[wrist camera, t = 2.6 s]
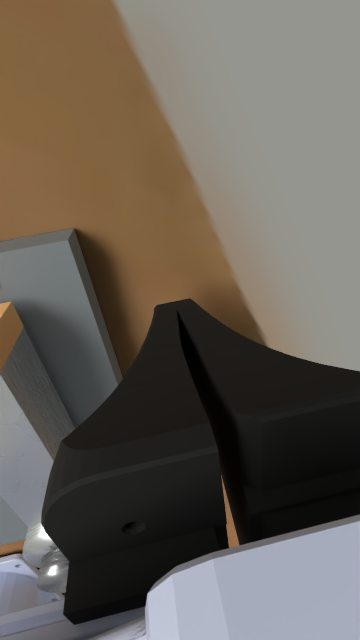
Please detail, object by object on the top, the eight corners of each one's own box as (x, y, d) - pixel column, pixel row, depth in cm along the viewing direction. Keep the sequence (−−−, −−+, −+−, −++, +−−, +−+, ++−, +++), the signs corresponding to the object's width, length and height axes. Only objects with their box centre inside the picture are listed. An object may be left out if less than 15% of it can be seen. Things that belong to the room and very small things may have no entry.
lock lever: (120, 489, 17) (119, 557, 14) (54, 505, 17) (41, 577, 14) (31, 295, 10) (-2, 352, 8) (-79, 316, 10) (-151, 382, 7)
